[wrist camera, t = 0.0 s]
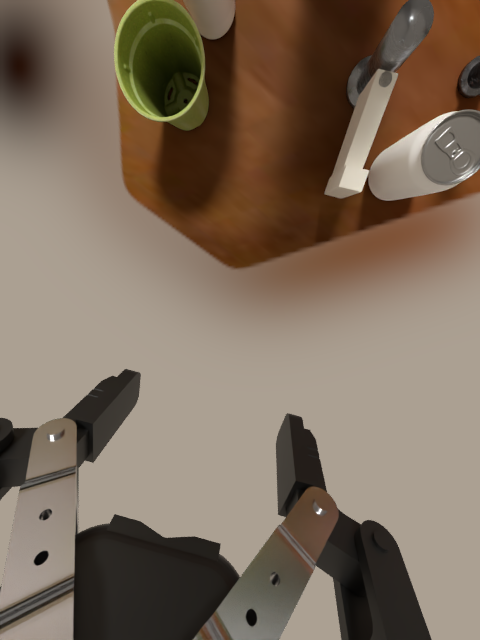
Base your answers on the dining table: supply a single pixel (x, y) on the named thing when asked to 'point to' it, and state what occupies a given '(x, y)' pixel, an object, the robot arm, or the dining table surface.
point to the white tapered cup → (211, 16)
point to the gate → (361, 136)
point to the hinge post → (393, 46)
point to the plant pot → (162, 63)
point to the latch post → (470, 79)
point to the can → (429, 158)
